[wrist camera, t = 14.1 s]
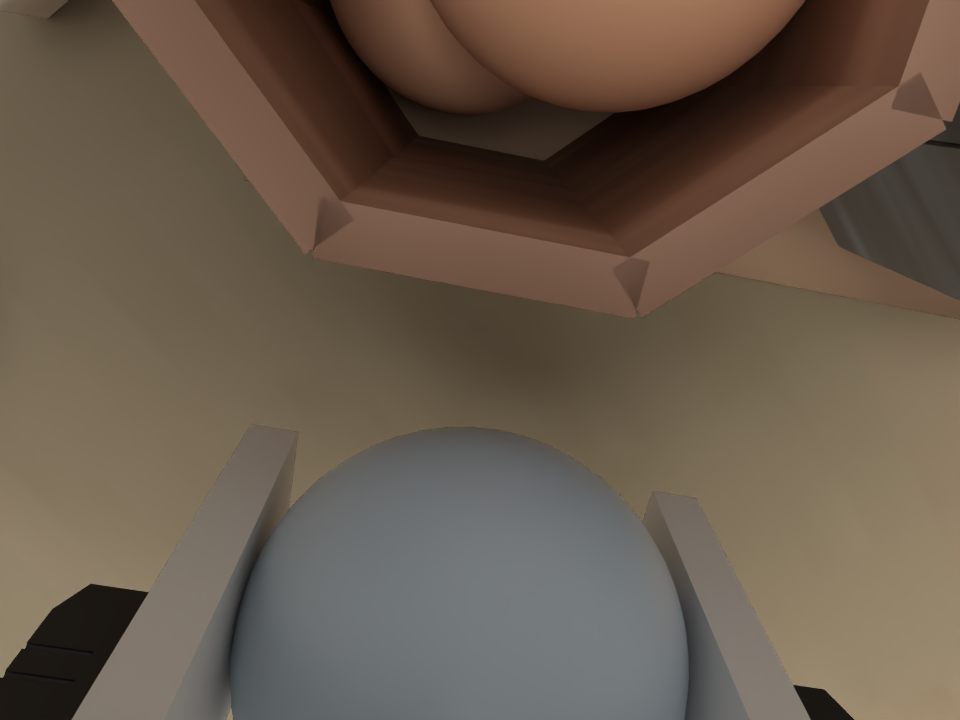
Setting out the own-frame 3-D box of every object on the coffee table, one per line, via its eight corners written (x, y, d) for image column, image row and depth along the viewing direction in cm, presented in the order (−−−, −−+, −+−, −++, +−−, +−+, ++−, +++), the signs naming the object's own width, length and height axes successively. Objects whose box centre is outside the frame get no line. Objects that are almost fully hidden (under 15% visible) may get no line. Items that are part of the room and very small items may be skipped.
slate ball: (310, 332, 12) (166, 566, 6) (679, 398, 12) (849, 670, 7) (272, 636, 14) (139, 1014, 8) (589, 683, 15) (664, 1070, 9)
